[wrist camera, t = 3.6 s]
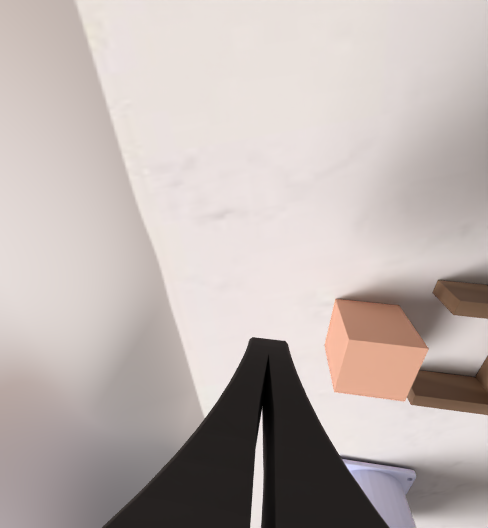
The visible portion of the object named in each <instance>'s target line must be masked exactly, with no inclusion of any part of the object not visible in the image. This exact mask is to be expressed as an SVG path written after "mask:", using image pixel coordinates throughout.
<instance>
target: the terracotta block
mask: <svg viewBox="0 0 488 528" xmlns="http://www.w3.org/2000/svg"><path fill="white" fill-rule="evenodd" d="M428 349H429V348H428V347H427V346H426V344H425V343H424V341H423V340H422V338H421V337H420V335H419V334H418V332H417V331H416V330H415V328H414V327H413V325H412V324H411V322H410V321H409V319H408V318H407V316H406V315H405V313H404V312H403V311H402V309H401V308H400V306H399V305H390V304H380V303H371V302H361V301H352V300H342V299H335V303H334V307H333V312H332V316H331V320H330V324H329V329H328V333H327V337H326V341H325V350H326V355H327V360H328V365H329V369H330V374H331V379H332V384H333V389H334V392H338V393H345V394H353V395H360V396H368V397H375V398H383V399H390V400H398V401H405V400H406V398H407V395H408V393H409V391H410V389H411V387H412V384H413V382H414V380H415V378H416V376H417V374H418V371H419V369H420V367H421V365H422V363H423V360H424V358H425V356H426V354H427V352H428Z"/></svg>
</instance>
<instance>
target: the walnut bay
mask: <svg viewBox="0 0 488 528" xmlns="http://www.w3.org/2000/svg"><path fill="white" fill-rule="evenodd" d="M433 294H434V295H435V296H436V297H437V298H438V299H439V300H440V301H441V302H442V303H443V304H444V305H445V306H446V308H447V309H448V310H449V311H450V312H451V313H452V314H453V315H458V316H468V317H477V318H487V319H488V285H484V284H473V283H463V282H453V281H442V280H438V281H437V284H436V286H435V288H434V291H433ZM407 398H408V400H409V402H410V404H411V405H416V406H424V407H431V408H439V409H446V410H454V411H461V412H469V413H476V414H484V415H488V356H487V358H486V360H485V361H484V363H483V365H482V366H481V368H480V370H479V372H478V373H477V375H476V377H470V376H462V375H453V374H445V373H437V372H429V371H421V370H419V371H418V374H417V376H416V378H415V380H414V382H413V384H412V387H411V389H410V391H409V393H408V395H407Z"/></svg>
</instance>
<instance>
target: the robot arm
mask: <svg viewBox="0 0 488 528" xmlns="http://www.w3.org/2000/svg"><path fill="white" fill-rule="evenodd" d="M261 411H262V415H263V467H264V481H263V505H262V523H261V528H416V525H415V522H414V519H413V516H412V513H411V511H410V508H409V505H408V502H407V499H406V496H405V495H406V494H407V492H408V490H409V489H410V487H411V485H412V484H413V482H414V480H415V479H416V477H417V475H416V473H415V471H414V470H411V469H404V468H398V467H391V466H385V465H378V464H372V463H365V462H359V461H352V460H346V459H341V457H340V455H339V454H338V452H337V451H336V449H335V447H334V446H333V444H332V442H331V441H330V439H329V437H328V435H327V434H326V432H325V430H324V428H323V427H322V425H321V423H320V421H319V419H318V417H317V415H316V413H315V411H314V409H313V407H312V405H311V403H310V401H309V399H308V397H307V395H306V393H305V390H304V388H303V386H302V384H301V381H300V379H299V377H298V374H297V372H296V369H295V366H294V364H293V361H292V358H291V354H290V351H289V347H288V344H287V343H286V341H280V340H271V339H263V338H255V337H252V338H251V339H250V340H249V343H248V346H247V349H246V352H245V354H244V356H243V358H242V360H241V362H240V364H239V366H238V368H237V370H236V372H235V374H234V375H233V377H232V379H231V381H230V382H229V384H228V386H227V387H226V389H225V390H224V392H223V393H222V395H221V396H220V398H219V400H218V401H217V403H216V404H215V405H214V407H213V408H212V410H211V411H210V412H209V414H208V415H207V417H206V418H205V419H204V420H203V422H202V423H201V424H200V426H199V427H198V428H197V430H196V431H195V432H194V433H193V434H192V436H191V437H190V438H189V439H188V441H187V442H186V443H185V444H184V445H183V446H182V448H181V449H180V450H179V451H178V452H177V453H176V454H175V456H174V457H173V458H172V459H171V460H170V461H169V462H168V463H167V464H166V465H165V466H164V467H163V468H162V469H161V471H160V472H159V473H158V474H157V475H156V476H155V477H154V478H153V479H152V480H151V481H150V482H149V483H148V484H147V485H146V486H145V487H144V488H143V489H142V490H141V491H140V492H139V493H138V494H137V495H136V496H135V497H134V498H133V499H132V500H131V501H130V502H129V503H128V504H127V505H126V506H125V507H123V508H122V509H121V510H120V511H119V512H118V513H117V514H116V515H115V516H114V517H113V518H112V519H111V520H110V521H108V522H107V524H105V525H104V526H103V527H102V528H250V521H251V506H252V491H253V476H254V462H255V448H256V442H257V436H258V430H259V423H260V417H261Z"/></svg>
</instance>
